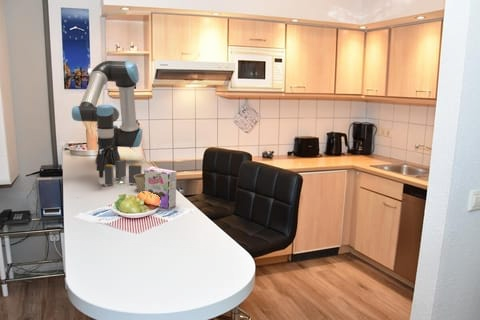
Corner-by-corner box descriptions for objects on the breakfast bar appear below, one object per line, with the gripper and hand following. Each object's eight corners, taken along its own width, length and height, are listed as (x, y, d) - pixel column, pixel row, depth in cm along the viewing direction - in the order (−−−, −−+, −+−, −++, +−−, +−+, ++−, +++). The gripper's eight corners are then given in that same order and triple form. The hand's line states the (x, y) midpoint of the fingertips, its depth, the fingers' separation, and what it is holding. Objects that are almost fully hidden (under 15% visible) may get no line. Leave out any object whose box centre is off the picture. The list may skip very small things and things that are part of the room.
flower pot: (149, 196, 195) (149, 179, 194) (130, 194, 197) (130, 177, 195) (156, 191, 204) (157, 174, 203) (139, 189, 206) (139, 172, 204)
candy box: (143, 203, 185) (143, 168, 182) (152, 200, 190) (152, 166, 187) (168, 209, 179) (168, 173, 175) (176, 206, 184) (176, 170, 180)
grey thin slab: (130, 183, 211) (130, 163, 208) (141, 184, 210) (141, 163, 208) (128, 184, 208) (128, 164, 206) (140, 185, 208) (140, 164, 206)
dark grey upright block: (101, 184, 207) (101, 163, 204) (113, 185, 206) (113, 164, 204) (99, 185, 204) (99, 164, 202) (111, 186, 204) (111, 165, 202)
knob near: (115, 179, 216) (114, 159, 214) (122, 177, 222) (122, 157, 219) (119, 180, 215) (118, 160, 213) (126, 178, 221) (126, 158, 218)
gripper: (107, 133, 212) (108, 174, 216) (88, 140, 189) (89, 186, 194) (121, 133, 211) (122, 175, 216) (103, 141, 189) (105, 187, 193)
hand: (106, 180), depth 205 cm, fingers open, 11 cm apart
